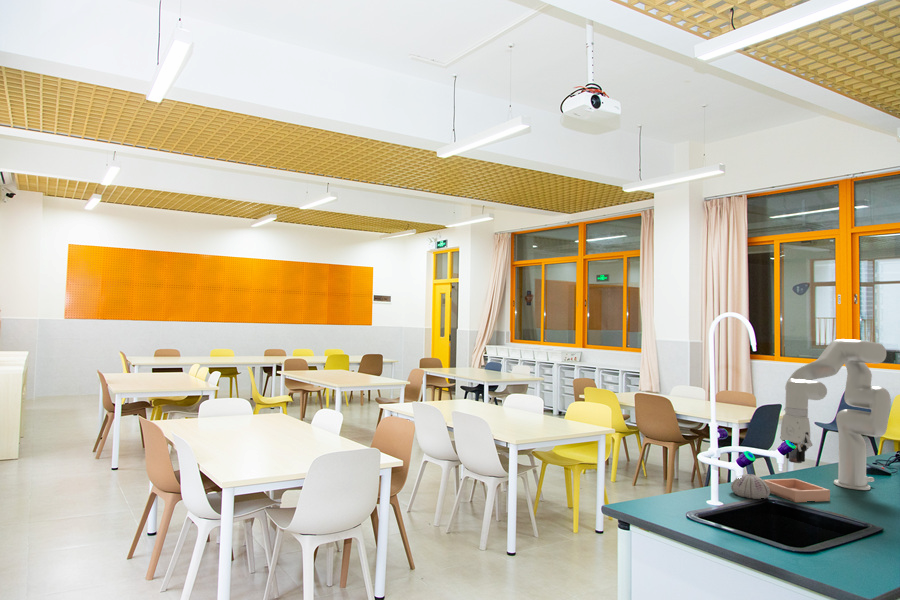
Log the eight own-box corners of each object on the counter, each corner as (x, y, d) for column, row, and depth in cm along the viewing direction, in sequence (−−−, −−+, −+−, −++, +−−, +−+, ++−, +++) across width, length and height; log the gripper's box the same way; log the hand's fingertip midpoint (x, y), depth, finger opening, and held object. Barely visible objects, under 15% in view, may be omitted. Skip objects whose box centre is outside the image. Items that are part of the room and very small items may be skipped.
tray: (794, 488, 236) (795, 478, 236) (829, 500, 220) (830, 490, 220) (761, 489, 232) (762, 479, 232) (795, 502, 216) (795, 491, 216)
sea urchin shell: (773, 503, 215) (774, 481, 215) (733, 498, 219) (733, 476, 219) (766, 493, 227) (766, 472, 227) (728, 489, 231) (728, 468, 232)
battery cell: (795, 460, 229) (795, 440, 229) (804, 463, 225) (805, 443, 225) (785, 460, 228) (786, 440, 228) (795, 463, 223) (795, 443, 224)
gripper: (771, 409, 234) (770, 455, 233) (806, 416, 218) (805, 465, 217) (786, 409, 236) (785, 455, 235) (823, 416, 220) (821, 465, 219)
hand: (795, 459), depth 226 cm, fingers closed on battery cell, 4 cm apart
